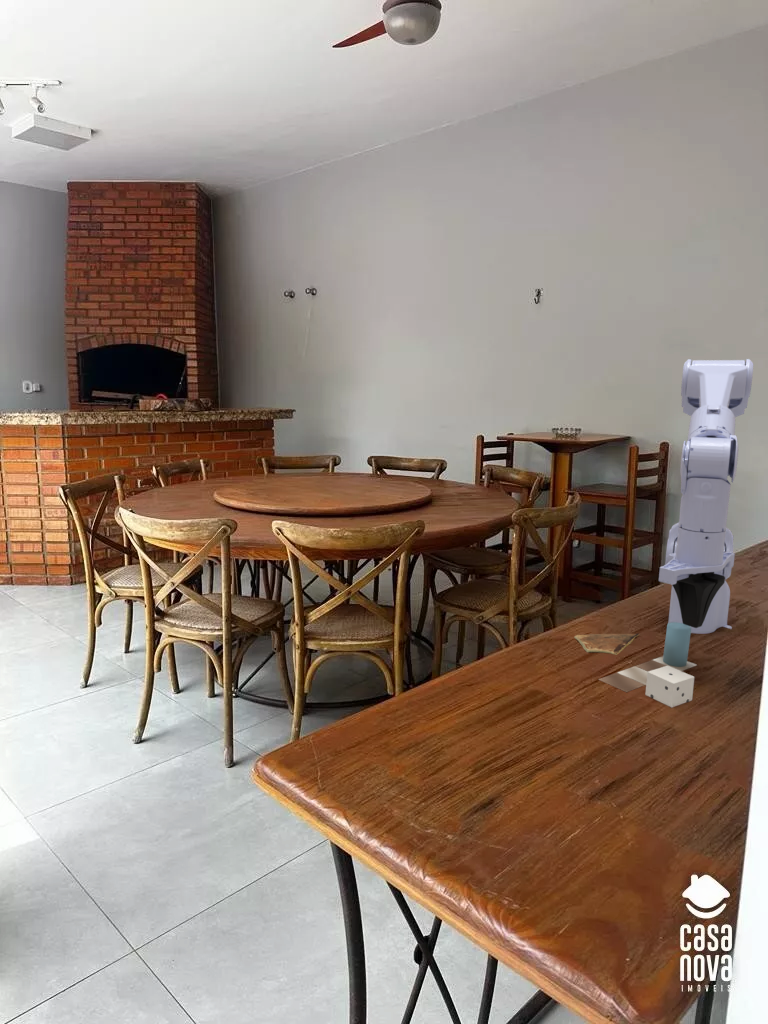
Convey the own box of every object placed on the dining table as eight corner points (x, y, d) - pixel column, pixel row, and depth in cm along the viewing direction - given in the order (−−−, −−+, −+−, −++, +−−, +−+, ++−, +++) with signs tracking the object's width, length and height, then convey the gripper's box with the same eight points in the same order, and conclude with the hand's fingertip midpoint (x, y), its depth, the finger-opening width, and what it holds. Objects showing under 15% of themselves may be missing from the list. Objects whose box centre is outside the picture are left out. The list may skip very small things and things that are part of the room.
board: (667, 657, 103) (667, 653, 103) (698, 669, 99) (698, 665, 99) (596, 683, 94) (596, 678, 94) (627, 697, 90) (627, 692, 90)
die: (665, 693, 92) (667, 664, 91) (692, 706, 88) (695, 676, 87) (644, 700, 90) (646, 671, 89) (671, 713, 86) (674, 683, 85)
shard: (638, 641, 110) (639, 631, 110) (659, 661, 103) (660, 650, 103) (572, 642, 110) (572, 632, 109) (588, 662, 102) (589, 651, 102)
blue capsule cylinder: (672, 655, 102) (676, 620, 101) (691, 664, 99) (696, 628, 98) (658, 659, 100) (662, 624, 99) (676, 668, 98) (681, 632, 96)
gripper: (704, 516, 98) (695, 606, 101) (641, 529, 90) (633, 627, 93) (753, 525, 92) (742, 620, 95) (691, 540, 84) (681, 643, 87)
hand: (692, 625), depth 94 cm, fingers closed
